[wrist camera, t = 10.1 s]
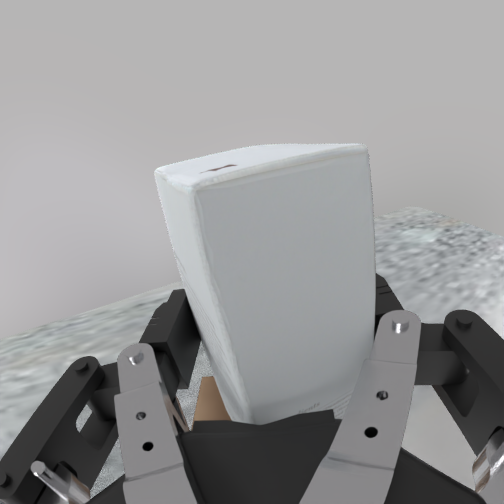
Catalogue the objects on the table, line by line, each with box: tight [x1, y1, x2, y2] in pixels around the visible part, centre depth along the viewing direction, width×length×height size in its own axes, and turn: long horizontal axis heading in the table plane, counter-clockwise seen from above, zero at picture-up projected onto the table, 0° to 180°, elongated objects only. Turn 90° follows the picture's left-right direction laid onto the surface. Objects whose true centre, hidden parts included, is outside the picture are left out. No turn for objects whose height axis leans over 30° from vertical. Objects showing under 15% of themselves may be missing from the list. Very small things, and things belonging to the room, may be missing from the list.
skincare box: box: [154, 144, 376, 425], centre depth 10 cm, size 6×4×12 cm
